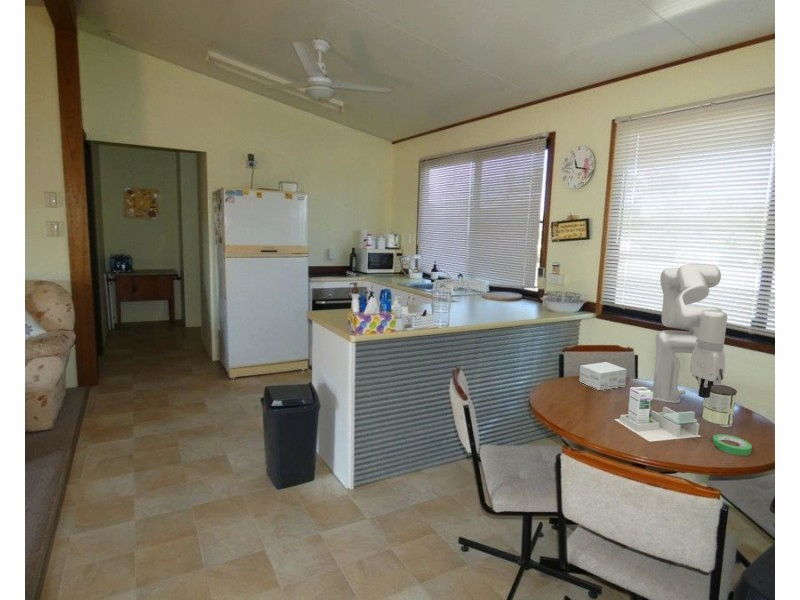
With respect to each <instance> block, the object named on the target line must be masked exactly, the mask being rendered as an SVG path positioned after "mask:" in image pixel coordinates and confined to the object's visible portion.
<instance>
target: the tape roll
mask: <svg viewBox="0 0 800 600" xmlns="http://www.w3.org/2000/svg"><path fill="white" fill-rule="evenodd" d="M711 440H712V443H713V444H714V445H715V448H716V449H718V450H720V451H722V452H724V453H727V454H730V455H737V456H750V455H751V454H752V449H753V448H752V447H753V445H752V444H751V443H750V442H749V441H747V440H745V439H743V438H740V437H737V436H734V435H730V434H724V433H723V434H722V433H721V434H720V433H718V434H714V435H713V436H712V439H711ZM723 441H732V442H735V443H737V444H735V445H731V444H729V443H725V442H723Z"/></svg>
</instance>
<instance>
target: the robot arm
mask: <svg viewBox="0 0 800 600" xmlns="http://www.w3.org/2000/svg"><path fill="white" fill-rule="evenodd" d="M721 279H722V273H721V270H720V269H719V267H718V266H716V265H714V264H699V263H698V264H695V263H693V264H692V263H688V264H687V263H686V264H684V265H682V266H680V267H668V268H665V269H664V270H662V272H660V279H659V280H660V286H661V291H662V294H663V295H662V297H663V299H662V307H661V309H662V310H661V323H662V326H665V327H667V328H674V329H683V330H671V329H670V330H669V329H667V330H665V329H664V330H660V331H659V332H657V333H656V335H655V363H654V364H655V365H654V373H653V382H652V391H653V401H656V402H666V403H667V402H668V403H672V404H679V403H680V402H681V397H679V396H681V395H686V394H687V392H686V390H684V389H683V390H682V389H681V390H680V389H678V387H679V378H680V371H681V370H680V369H681V361H680V359H679V358H678V356H677V355H676V354H679V353H681V354H691V358H690V363H689V368H688V370H689V373H690V375H691V376H692V377H693V378H695V379H696V381H697V385H698V386H699V388H698V397H700V398H702V399H704V398H709V397H710V392H711V387H713V386H714V385H722V381H724V378H725V373H726V358H725V357H726V356H725V355H726V354H725V352H724V347H725V339H726V332H727V330H726V329H727V323H728V314H727V313H726V312H725V311H723V310H722V309H721V308H719V307H716V306H702V305H700V306H699V305H691V304H695V303H699V302H700V301H702V300H705V299H706V298H707V297H708V296H709V294H710V289H711V288H714V287H716V286H718V285H719V284H720V282H721ZM684 329H687V330H689V331H684Z"/></svg>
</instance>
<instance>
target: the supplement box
mask: <svg viewBox="0 0 800 600" xmlns="http://www.w3.org/2000/svg"><path fill="white" fill-rule="evenodd" d="M579 369H580V370H579V381H580V382H582V383H584V384H586V385H588V386H590V387H593V388H595V389H597V390H603V391H605V390H604V389H610V390H613V389H612V388H616V389H619V388H618V387H622V388H626V381H627V380H626V379H627V368H624V367H622V366H619V365H616V364H613V363H611V362H607V361H603V362H596V363H589V364H581V365H580V366H579ZM584 384H583V385H584ZM586 385H585V386H586ZM588 386H587V387H588ZM590 387H589V388H590ZM593 388H592V389H593ZM595 389H594V390H595ZM597 390H596V391H597Z"/></svg>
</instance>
